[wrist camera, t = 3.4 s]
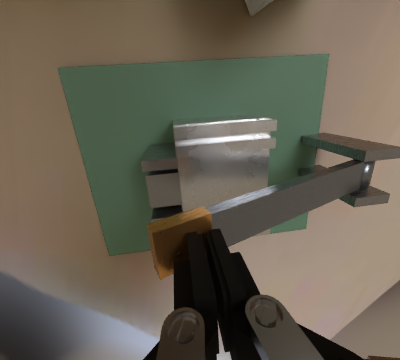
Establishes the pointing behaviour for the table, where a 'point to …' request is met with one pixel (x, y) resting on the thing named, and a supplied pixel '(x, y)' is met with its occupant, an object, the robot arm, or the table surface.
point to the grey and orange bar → (254, 211)
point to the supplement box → (256, 5)
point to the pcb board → (184, 109)
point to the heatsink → (236, 162)
